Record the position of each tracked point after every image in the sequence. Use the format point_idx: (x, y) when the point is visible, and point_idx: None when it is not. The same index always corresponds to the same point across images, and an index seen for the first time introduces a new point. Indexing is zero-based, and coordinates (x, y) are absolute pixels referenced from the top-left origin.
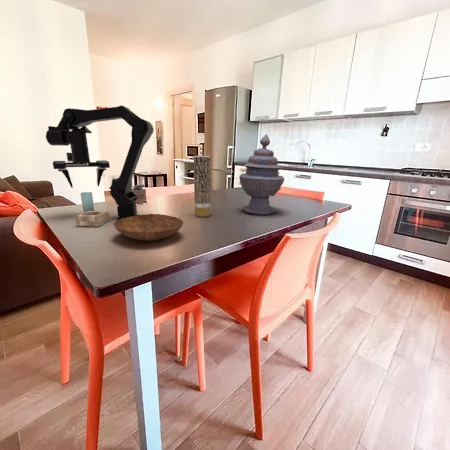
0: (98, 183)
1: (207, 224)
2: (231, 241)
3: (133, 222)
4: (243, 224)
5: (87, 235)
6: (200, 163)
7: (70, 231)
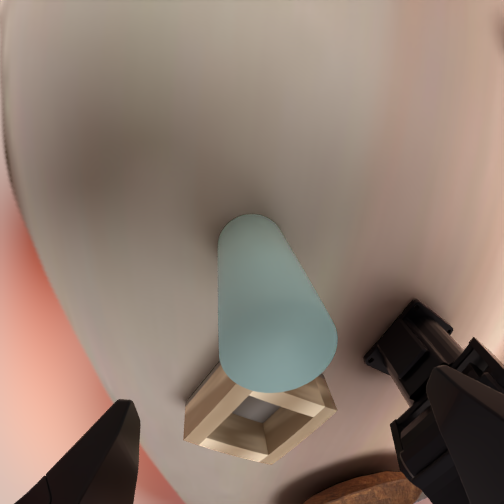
0: (442, 418)
1: None
2: (419, 498)
3: (349, 485)
4: None
5: (222, 471)
6: None
7: (170, 434)
